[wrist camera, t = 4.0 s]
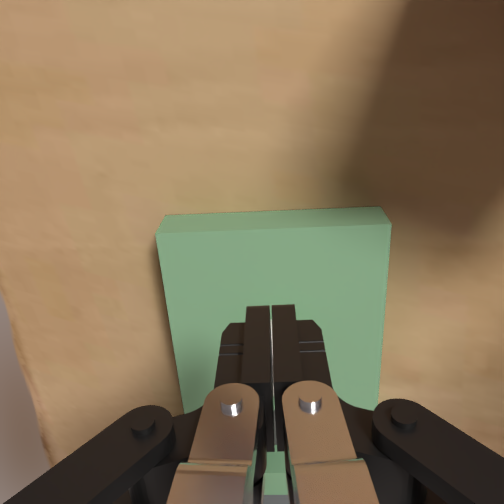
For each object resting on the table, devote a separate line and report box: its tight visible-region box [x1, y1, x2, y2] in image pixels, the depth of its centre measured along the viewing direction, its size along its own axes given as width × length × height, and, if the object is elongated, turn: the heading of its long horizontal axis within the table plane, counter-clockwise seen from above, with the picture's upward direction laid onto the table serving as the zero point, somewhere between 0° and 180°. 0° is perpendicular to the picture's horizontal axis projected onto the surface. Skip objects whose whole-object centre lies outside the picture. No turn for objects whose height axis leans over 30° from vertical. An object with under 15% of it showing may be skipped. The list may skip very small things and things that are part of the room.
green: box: [155, 206, 392, 504], centre depth 25 cm, size 22×12×11 cm, turn 3°
